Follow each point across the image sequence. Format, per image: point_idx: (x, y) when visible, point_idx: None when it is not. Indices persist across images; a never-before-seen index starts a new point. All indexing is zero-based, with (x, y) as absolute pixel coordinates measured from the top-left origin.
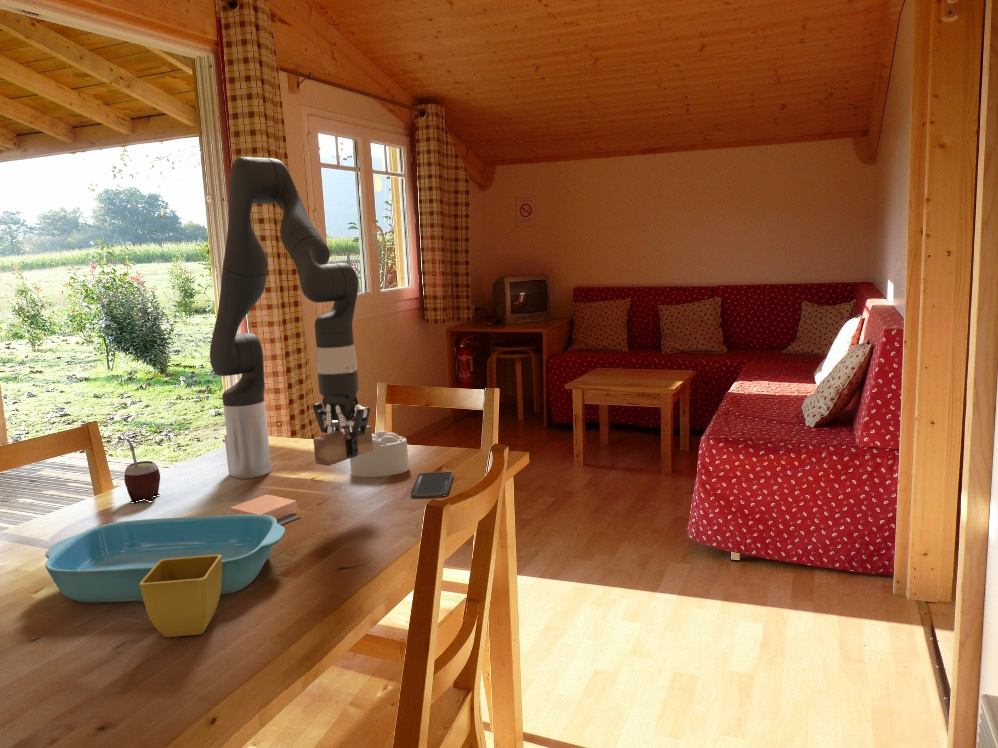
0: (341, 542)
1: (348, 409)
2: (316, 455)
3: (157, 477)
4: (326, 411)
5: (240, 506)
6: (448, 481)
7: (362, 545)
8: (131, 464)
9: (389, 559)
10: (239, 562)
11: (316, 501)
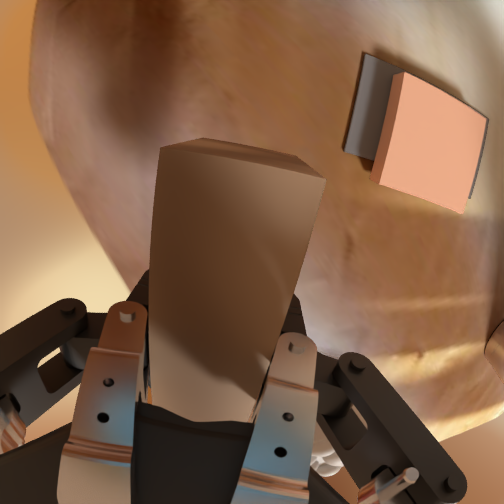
0: (145, 52)
1: (17, 458)
2: (289, 157)
3: None
4: (305, 489)
5: (473, 127)
6: None
7: (97, 62)
8: None
9: (36, 49)
10: None
11: (364, 258)
